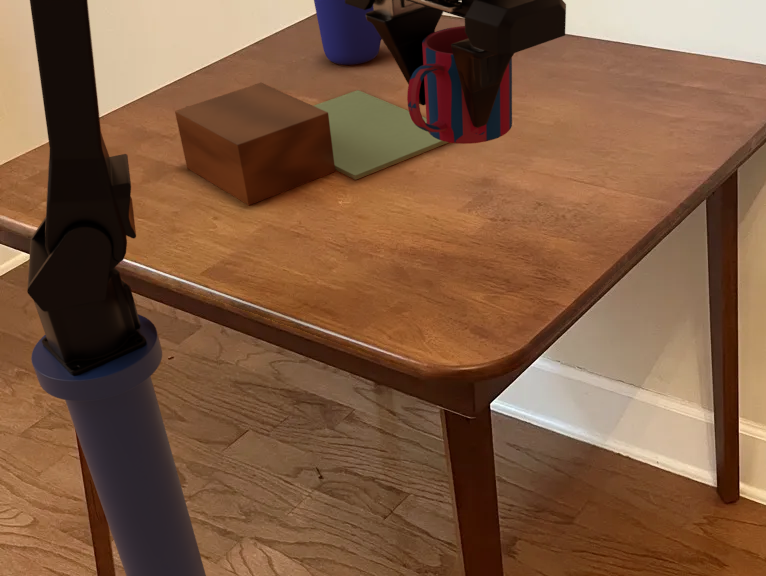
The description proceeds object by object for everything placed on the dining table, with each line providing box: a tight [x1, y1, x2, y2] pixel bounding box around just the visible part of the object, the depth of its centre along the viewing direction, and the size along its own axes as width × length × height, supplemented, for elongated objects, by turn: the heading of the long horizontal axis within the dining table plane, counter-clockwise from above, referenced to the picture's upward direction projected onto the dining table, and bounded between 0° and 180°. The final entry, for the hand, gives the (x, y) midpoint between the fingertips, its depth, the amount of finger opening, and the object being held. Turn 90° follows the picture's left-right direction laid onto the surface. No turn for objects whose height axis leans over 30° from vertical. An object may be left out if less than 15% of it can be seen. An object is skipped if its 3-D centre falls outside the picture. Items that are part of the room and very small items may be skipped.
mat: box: [313, 89, 450, 180], centre depth 107 cm, size 14×18×1 cm
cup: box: [406, 25, 513, 145], centre depth 78 cm, size 7×10×7 cm
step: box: [174, 82, 336, 206], centre depth 100 cm, size 10×12×6 cm
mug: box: [313, 0, 383, 66], centre depth 123 cm, size 8×12×10 cm
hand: (452, 114), depth 79 cm, fingers closed on cup, 6 cm apart
